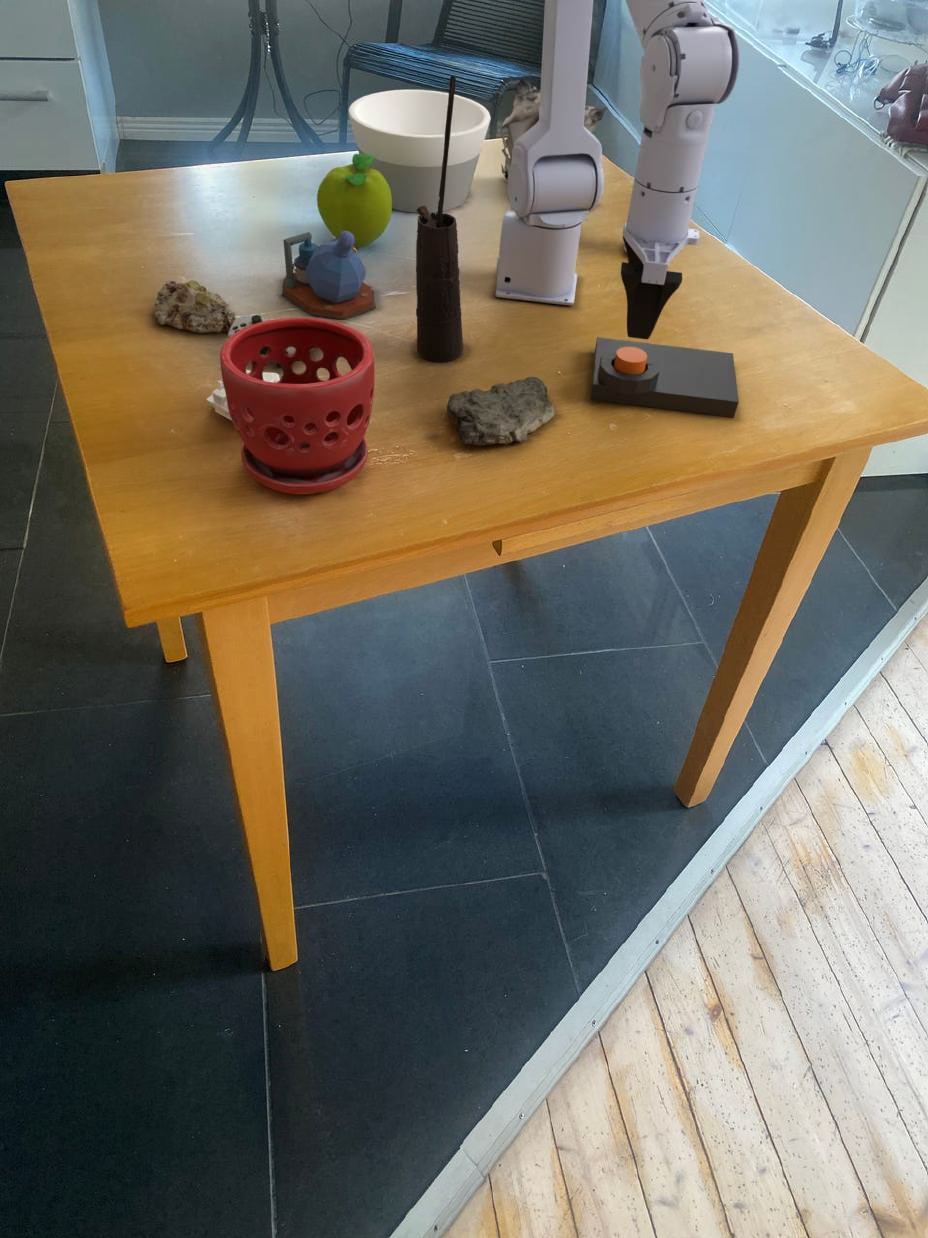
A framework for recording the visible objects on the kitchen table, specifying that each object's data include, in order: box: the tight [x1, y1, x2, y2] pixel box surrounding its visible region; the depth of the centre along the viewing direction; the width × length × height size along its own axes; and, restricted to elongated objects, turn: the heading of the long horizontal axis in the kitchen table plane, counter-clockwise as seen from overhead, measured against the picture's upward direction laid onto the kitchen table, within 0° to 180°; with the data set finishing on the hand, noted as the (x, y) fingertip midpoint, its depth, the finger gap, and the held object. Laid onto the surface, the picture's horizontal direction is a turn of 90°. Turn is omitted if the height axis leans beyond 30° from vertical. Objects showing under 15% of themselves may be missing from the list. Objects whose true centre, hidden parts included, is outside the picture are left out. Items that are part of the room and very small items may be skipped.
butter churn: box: [415, 74, 464, 363], centre depth 96 cm, size 9×10×28 cm
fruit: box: [316, 153, 393, 248], centre depth 120 cm, size 9×9×10 cm
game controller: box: [227, 314, 316, 368], centre depth 102 cm, size 10×5×6 cm
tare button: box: [614, 347, 647, 375], centre depth 98 cm, size 3×3×2 cm
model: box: [281, 231, 377, 321], centre depth 109 cm, size 12×9×9 cm
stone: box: [446, 376, 555, 446], centre depth 94 cm, size 14×8×3 cm, turn 123°
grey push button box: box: [590, 336, 740, 418], centre depth 101 cm, size 15×11×4 cm
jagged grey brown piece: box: [500, 79, 607, 182], centre depth 133 cm, size 15×4×13 cm, turn 54°
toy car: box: [206, 369, 281, 421], centre depth 94 cm, size 5×8×4 cm, turn 142°
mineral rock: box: [154, 279, 236, 334], centre depth 106 cm, size 11×4×8 cm
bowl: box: [348, 89, 492, 214], centre depth 132 cm, size 19×19×11 cm
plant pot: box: [219, 316, 376, 495], centre depth 85 cm, size 13×13×12 cm
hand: (638, 320), depth 95 cm, fingers open, 6 cm apart
